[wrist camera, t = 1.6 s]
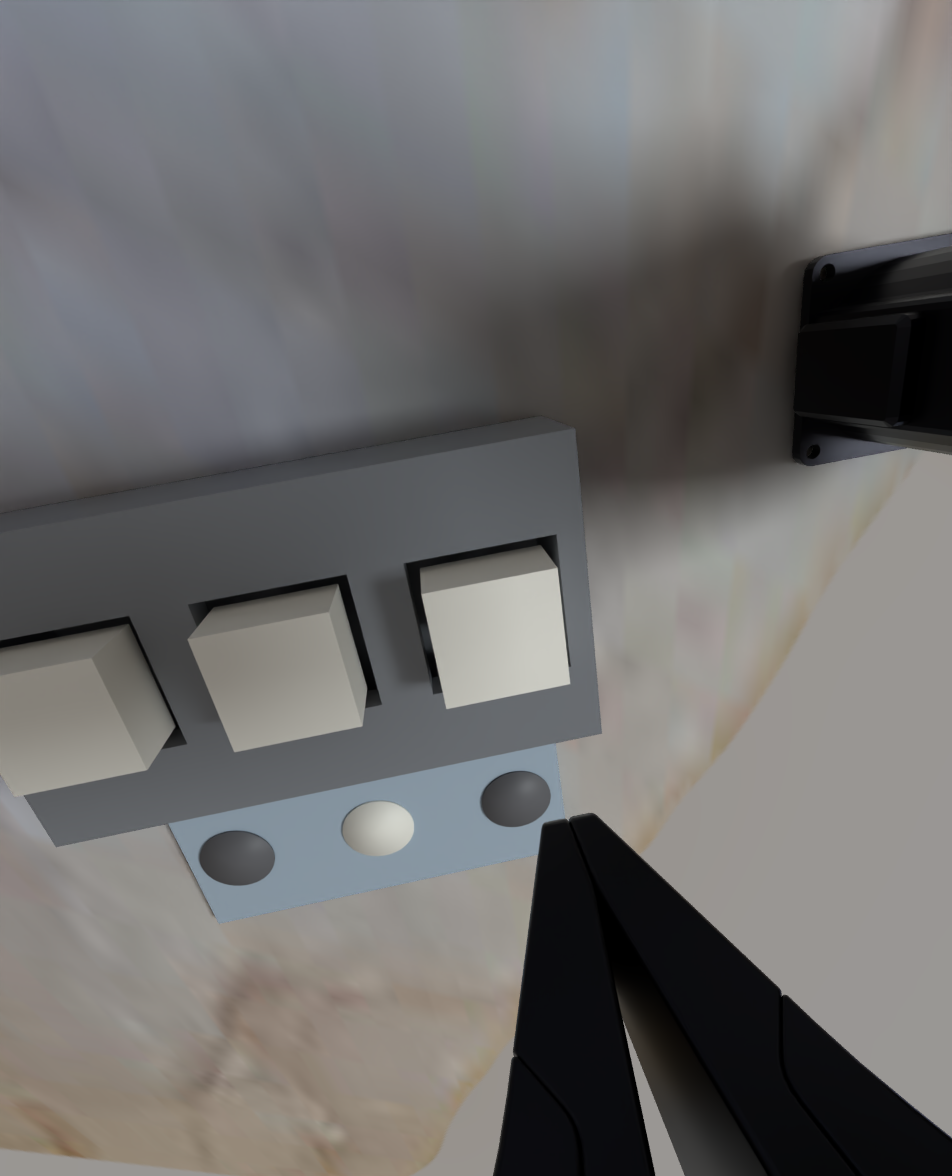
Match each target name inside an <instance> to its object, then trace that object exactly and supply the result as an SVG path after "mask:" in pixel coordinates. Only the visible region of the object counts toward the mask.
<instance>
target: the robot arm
mask: <svg viewBox="0 0 952 1176" xmlns="http://www.w3.org/2000/svg"><path fill="white" fill-rule="evenodd" d="M822 267H824V268H825V269H826V277H825V279H824V280H823V281H822V280H821V279H820V271H821V269H822ZM794 411H795V419H794V434H793V450H792V454H793V459H794V460H795V462H797V463H799V464H802V465H806V466H815V465H820V464H825V463H830V462H836V461H841V460H846V459H852V458H857V457H862V456H867V455H873V454H878V453H883V452H889V451H894V450H899V449H904V448H912V449H918V450H924V451H931V452H937V453H943V454H949V455H952V233H951V234H945V235H939V236H933V237H928V238H922V239H916V240H910V241H904V242H898V243H893V244H887V245H881V246H875V247H869V248H863V249H858V250H852V251H846V252H840V253H834V254H829V255H825V256H821V257H818V258H816V259H814V260H813V261H812V262H810V263H809V265H808V266H807V268H806V270H805V273H804V278H803V294H802V309H801V325H800V333H799V334H798V346H797V362H796V378H795V394H794ZM811 445H812V447H813V450H812V453H811V454H810V455H809V456H807V454H806V452H807V449H808V448H809V447H810V446H811ZM622 1018H623V1019H622ZM623 1021H624V1023H625V1026H626V1028H627V1031H628V1033H629V1036H630V1038H631V1041H632V1043H633V1046H634V1049H635V1051H636V1053H637V1056H638V1059H639V1061H640V1064H641V1066H642V1069H643V1071H644V1073H645V1076H646V1078H647V1081H648V1084H649V1086H650V1089H651V1091H652V1094H653V1096H654V1099H655V1101H656V1104H657V1106H658V1109H659V1111H660V1114H661V1117H662V1119H663V1122H664V1124H665V1127H666V1129H667V1131H668V1134H669V1137H670V1139H671V1142H672V1144H673V1147H674V1149H675V1152H676V1154H677V1157H678V1160H679V1162H680V1165H681V1167H682V1169H683V1172H684V1175H685V1176H952V1138H951V1137H950V1136H949V1135H948V1134H946V1133H945V1132H944V1131H943V1130H941V1129H940V1128H939V1127H937V1126H936V1125H935V1124H934V1123H933V1122H931V1121H930V1120H929V1119H928V1118H926V1117H925V1116H924V1115H923V1114H922V1113H920V1112H919V1111H918V1110H917V1109H915V1108H914V1107H913V1106H912V1105H910V1104H909V1103H908V1102H907V1101H906V1100H905V1099H903V1098H902V1097H901V1096H900V1095H899V1094H897V1093H896V1092H895V1091H894V1090H893V1089H891V1088H890V1087H889V1086H888V1085H886V1084H885V1083H884V1082H883V1081H882V1080H881V1079H879V1078H878V1077H877V1076H876V1075H875V1074H873V1073H872V1072H871V1071H870V1070H869V1069H867V1068H866V1067H865V1066H864V1065H863V1064H861V1063H860V1062H859V1061H858V1060H857V1059H856V1058H855V1057H854V1056H852V1055H851V1054H850V1053H849V1052H848V1051H847V1050H846V1049H844V1048H843V1047H842V1046H841V1045H840V1044H839V1043H838V1042H837V1041H836V1040H835V1039H834V1038H832V1037H831V1036H830V1035H829V1034H828V1033H827V1032H826V1031H825V1030H824V1029H822V1028H821V1027H820V1026H819V1025H818V1024H817V1023H816V1022H815V1021H814V1020H813V1019H811V1018H810V1016H809V1015H807V1014H806V1013H805V1012H804V1011H803V1010H802V1009H801V1008H800V1007H799V1006H798V1005H797V1004H796V1003H795V1002H794V1001H793V1000H792V999H791V998H790V997H789V996H787V995H783V996H782V993H781V990H780V988H779V987H778V986H777V985H776V984H774V983H773V982H772V981H771V980H770V979H769V978H768V977H767V976H766V975H765V974H764V973H763V972H762V971H761V970H760V969H759V968H758V967H756V966H755V965H754V964H753V963H752V962H751V961H750V960H749V959H748V958H747V957H746V956H745V955H744V954H742V952H740V951H739V949H737V948H736V947H735V946H734V945H733V944H732V943H731V942H730V941H729V940H728V939H727V938H726V937H725V936H724V935H723V934H722V933H720V932H719V931H718V930H717V929H716V928H715V927H714V926H713V925H712V924H711V923H710V922H709V921H708V920H707V919H706V918H705V917H704V916H703V915H702V914H700V913H699V912H698V911H697V910H696V909H695V908H694V907H693V906H692V905H691V904H690V903H689V902H688V901H687V900H686V899H684V898H683V896H681V895H680V894H679V893H678V892H677V891H676V890H675V889H674V888H673V887H672V886H671V885H670V884H669V883H668V882H666V881H665V879H663V878H662V877H661V876H660V875H659V874H658V873H657V872H656V871H655V870H654V869H653V868H652V867H651V866H650V865H649V864H648V863H646V862H645V861H644V860H643V859H642V858H641V857H640V856H639V855H638V854H637V853H636V852H635V851H634V850H633V849H632V848H631V847H630V846H629V845H628V844H627V843H625V842H624V841H623V840H622V839H621V838H620V837H619V836H618V835H617V834H616V833H615V832H614V831H613V830H612V829H611V828H610V827H609V826H607V825H606V824H605V823H604V822H603V821H602V820H601V819H600V818H599V817H598V816H597V815H596V814H593V813H586V814H582V815H577V816H572V817H571V818H570V819H569V822H568V820H567V819H558V820H553V821H549V822H545V823H544V824H543V825H542V828H541V835H540V843H539V851H538V859H537V867H536V874H535V882H534V890H533V898H532V906H531V914H530V922H529V929H528V937H527V945H526V953H525V961H524V969H523V977H522V984H521V992H520V1000H519V1008H518V1016H517V1024H516V1032H515V1039H514V1047H513V1054H514V1057H513V1058H512V1060H511V1068H510V1076H509V1083H508V1091H507V1098H506V1104H505V1112H504V1117H503V1124H502V1130H501V1136H500V1143H499V1149H498V1154H497V1159H496V1163H495V1168H494V1173H493V1176H655V1172H654V1167H653V1162H652V1157H651V1152H650V1148H649V1143H648V1138H647V1133H646V1129H645V1124H644V1119H643V1114H642V1109H641V1105H640V1100H639V1096H638V1090H637V1086H636V1081H635V1076H634V1071H633V1067H632V1062H631V1057H630V1053H629V1048H628V1043H627V1038H626V1033H625V1028H624V1024H623Z"/></svg>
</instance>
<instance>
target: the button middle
mask: <svg viewBox="0 0 952 1176" xmlns="http://www.w3.org/2000/svg"><path fill="white" fill-rule="evenodd" d="M187 640H188V642H189V645H190V647H191V649H192V652H193V654H194V657H195V659H196V661H197V664H198V666H199V669H200V671H201V673H202V676H203V678H204V681H205V683H206V686H207V688H208V690H209V693H210V695H211V698H212V700H213V702H214V705H215V707H216V710H217V712H218V714H219V717H220V719H221V722H222V724H223V726H224V729H225V731H226V734H227V736H228V738H229V741H230V743H231V746H232V748H233V750H234V752H239V751H244V750H249V749H254V748H259V747H264V746H268V745H273V744H278V743H283V742H288V741H293V740H298V739H303V738H308V737H313V736H318V735H323V734H327V733H332V732H337V731H342V730H347V729H352V728H357V727H362V726H363V718H364V711H365V703H366V695H367V685H366V681H365V678H364V674H363V670H362V667H361V663H360V660H359V656H358V653H357V649H356V646H355V642H354V638H353V635H352V631H351V628H350V624H349V621H348V617H347V614H346V610H345V606H344V603H343V599H342V596H341V592H340V589H339V585H338V584H333V585H328V586H323V587H318V588H312V589H307V590H302V591H297V592H292V593H286V594H281V595H276V596H271V597H265V598H260V599H255V600H250V601H245V602H239V603H234V604H229V605H224V606H218V607H213V609H212V610H211V611H210V612H209V613H208V615H207V616H206V617H205V618H204V620H203V621H202V622H201V623H200V625H199V626H198V627H197V628H196V630H195V631H194V632H193V633H192V634H191V636H190V637H189V638H188V639H187Z"/></svg>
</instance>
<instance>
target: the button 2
mask: <svg viewBox="0 0 952 1176" xmlns="http://www.w3.org/2000/svg"><path fill="white" fill-rule="evenodd" d="M420 579H421V595H422V600H423V604H424V609H425V613H426V618H427V622H428V627H429V632H430V636H431V641H432V645H433V650H434V654H435V659H436V664H437V668H438V673H439V677H440V682H441V686H442V691H443V696H444V700H445V705H446V709H450V708H455V707H460V706H465V705H470V704H475V703H480V702H485V701H490V700H495V699H499V698H504V697H509V696H514V695H519V694H524V693H529V692H534V691H539V690H544V689H549V688H554V687H558V686H563V685H568V684H570V677H569V667H568V658H567V649H566V640H565V631H564V622H563V613H562V604H561V595H560V586H559V576H558V568H557V566H556V565H555V564H554V562H553V561H552V560H551V558H550V557H549V556H548V554H547V553H546V552H545V550H544V549H543V548H542V546H541V545H537V546H532V547H527V548H521V549H516V550H511V551H506V552H500V553H495V554H490V555H485V556H480V557H474V558H469V559H464V560H459V561H453V562H448V563H443V564H438V565H433V566H427V567H422V568H420Z"/></svg>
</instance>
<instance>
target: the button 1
mask: <svg viewBox="0 0 952 1176" xmlns="http://www.w3.org/2000/svg"><path fill="white" fill-rule="evenodd" d="M175 727H176V726H175V724H174V721H173V719H172V717H171V715H170V713H169V710H168V708H167V706H166V704H165V702H164V700H163V697H162V695H161V693H160V691H159V689H158V686H157V684H156V682H155V680H154V678H153V675H152V673H151V671H150V669H149V667H148V665H147V662H146V660H145V658H144V656H143V654H142V651H141V649H140V647H139V645H138V643H137V641H136V638H135V636H134V634H133V632H132V630H131V627H130V625H129V624H125V625H119V626H114V627H109V628H104V629H98V630H93V631H88V632H83V633H78V634H72V635H67V636H62V637H57V638H51V639H46V640H41V641H36V642H31V643H25V644H20V645H15V646H10V647H4V648H0V775H1V776H2V778H3V780H4V781H5V783H6V784H7V786H8V787H9V789H10V791H11V792H12V794H13V795H14V797H18V796H23V795H28V794H33V793H37V792H42V791H47V790H52V789H57V788H62V787H67V786H72V785H77V784H82V783H87V782H92V781H96V780H101V779H106V778H111V777H116V776H121V775H126V774H131V773H136V772H141V771H146V770H148V768H149V767H150V765H151V764H152V762H153V761H154V759H155V758H156V756H157V755H158V753H159V751H160V750H161V748H162V747H163V745H164V744H165V742H166V741H167V739H168V738H169V736H170V734H171V733H172V731H173V730H174V728H175Z"/></svg>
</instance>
